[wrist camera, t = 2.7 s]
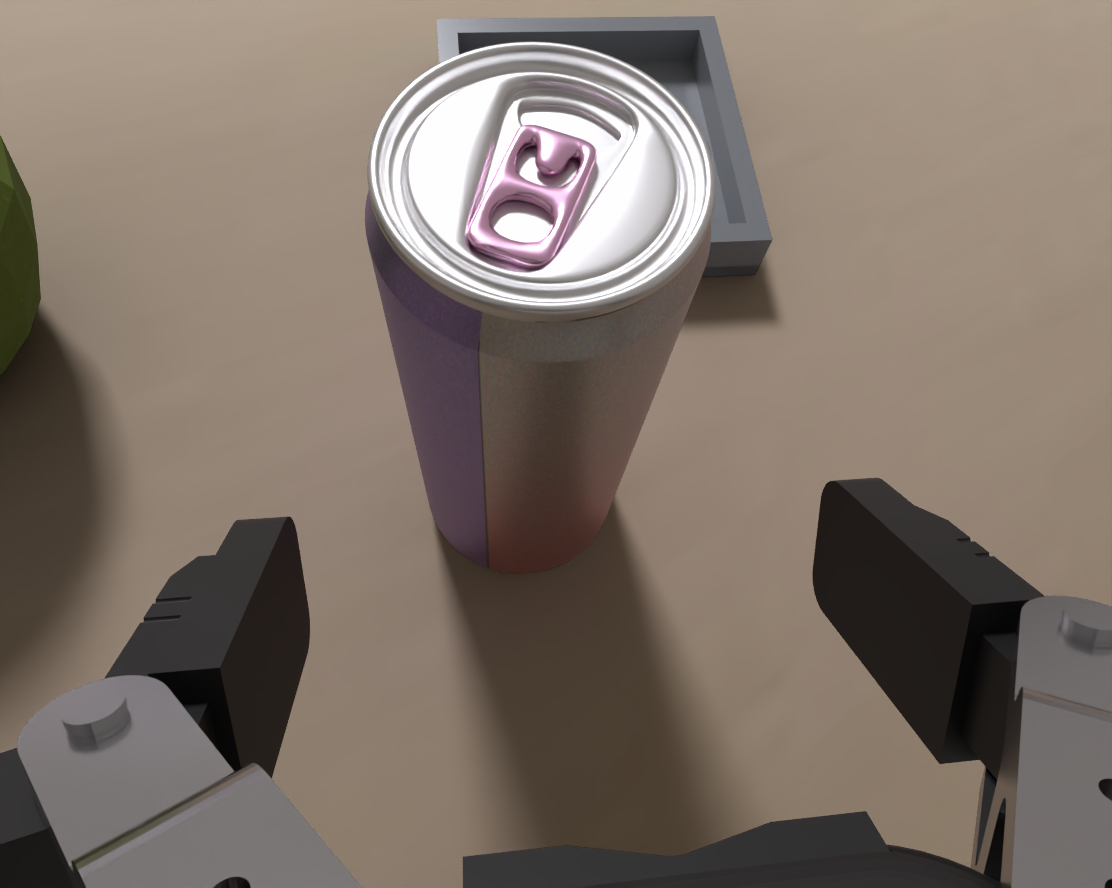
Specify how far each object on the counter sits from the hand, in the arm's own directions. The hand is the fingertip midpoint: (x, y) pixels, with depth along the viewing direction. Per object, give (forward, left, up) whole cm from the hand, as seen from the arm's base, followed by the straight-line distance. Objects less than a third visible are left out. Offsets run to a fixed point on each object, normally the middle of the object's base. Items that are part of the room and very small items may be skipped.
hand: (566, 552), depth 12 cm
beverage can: (0, +6, -13) cm, 15 cm away
